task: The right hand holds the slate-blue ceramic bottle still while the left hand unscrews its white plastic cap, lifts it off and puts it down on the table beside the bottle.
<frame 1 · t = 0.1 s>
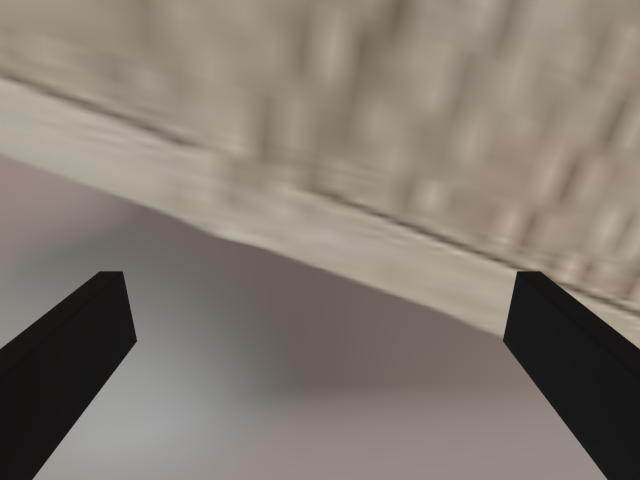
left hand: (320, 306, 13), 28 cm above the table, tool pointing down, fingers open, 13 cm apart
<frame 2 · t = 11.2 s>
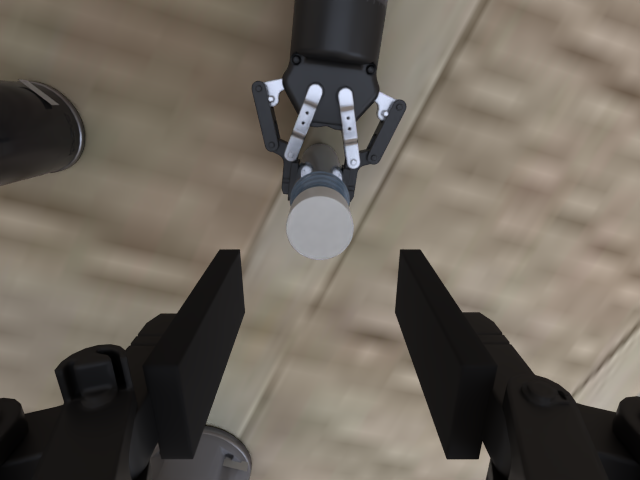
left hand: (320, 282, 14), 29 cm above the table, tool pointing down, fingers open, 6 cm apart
right hand: (316, 201, 36), fingers closed on bottle, 4 cm apart
cap: (319, 227, 21), point 23 cm above the table, screwed on, not yet turned
bottle: (319, 162, 42), on the table, touching right hand
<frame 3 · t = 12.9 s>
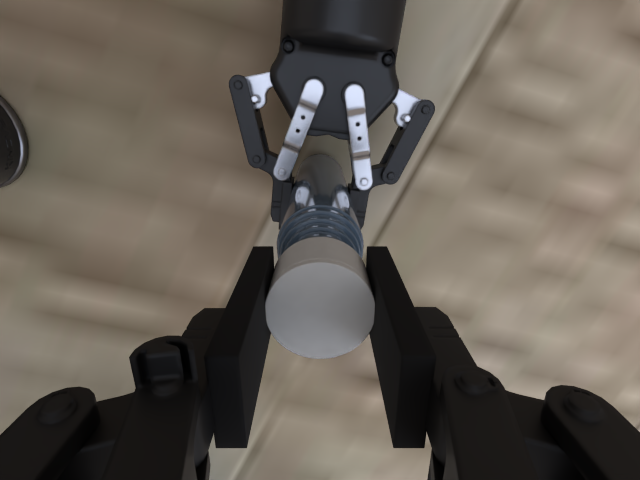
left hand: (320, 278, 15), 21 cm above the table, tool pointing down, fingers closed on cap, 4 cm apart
right hand: (316, 229, 28), fingers closed on bottle, 4 cm apart
cap: (320, 308, 13), point 23 cm above the table, screwed on, not yet turned, touching left hand
bottle: (320, 176, 34), on the table, touching right hand
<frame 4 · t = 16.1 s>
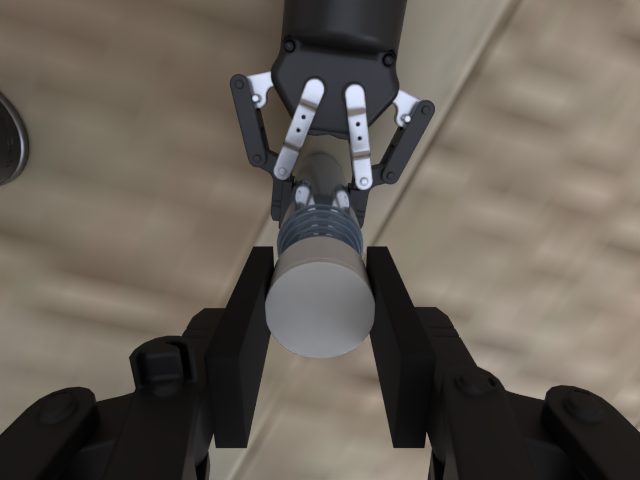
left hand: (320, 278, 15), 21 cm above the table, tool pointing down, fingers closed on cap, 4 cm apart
right hand: (316, 229, 29), fingers closed on bottle, 4 cm apart
cap: (320, 308, 13), point 23 cm above the table, turned 92° so far, risen 0.1 cm, still on its thread, touching left hand
bottle: (320, 176, 34), on the table, touching right hand
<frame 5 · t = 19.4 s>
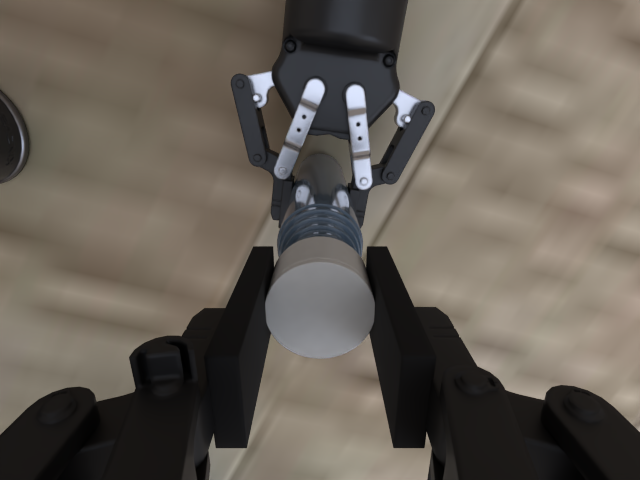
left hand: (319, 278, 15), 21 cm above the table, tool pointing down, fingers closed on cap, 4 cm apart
right hand: (315, 228, 29), fingers closed on bottle, 4 cm apart
cap: (320, 308, 13), point 23 cm above the table, turned 183° so far, risen 0.2 cm, still on its thread, touching left hand
bottle: (320, 176, 34), on the table, touching right hand
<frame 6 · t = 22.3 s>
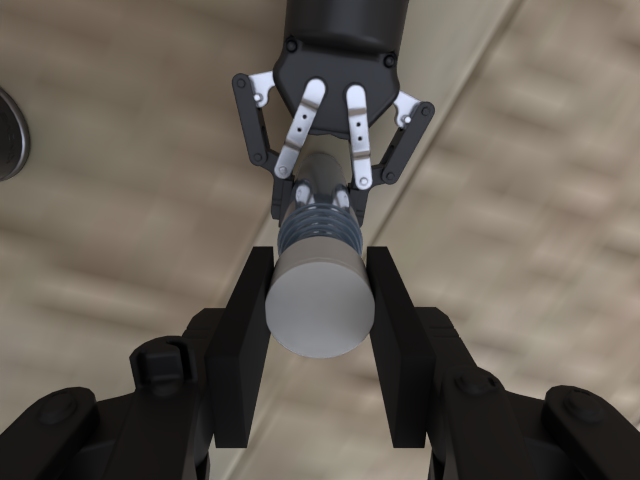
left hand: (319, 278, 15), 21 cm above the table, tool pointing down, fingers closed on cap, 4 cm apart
right hand: (315, 228, 29), fingers closed on bottle, 4 cm apart
cap: (320, 308, 13), point 23 cm above the table, turned 275° so far, risen 0.3 cm, still on its thread, touching left hand
bottle: (320, 176, 34), on the table, touching right hand
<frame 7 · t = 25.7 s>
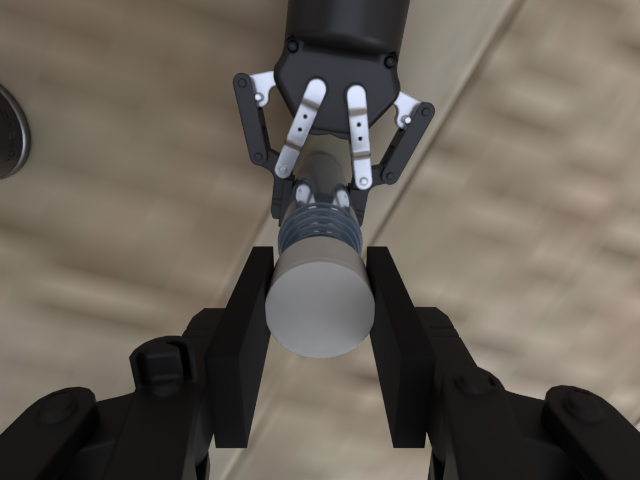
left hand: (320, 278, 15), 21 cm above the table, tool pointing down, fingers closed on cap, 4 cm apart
right hand: (315, 227, 29), fingers closed on bottle, 4 cm apart
cap: (320, 308, 13), point 23 cm above the table, turned 366° so far, risen 0.4 cm, still on its thread, touching left hand
bottle: (320, 175, 34), on the table, touching right hand
when the left hand's fingers open (2 cm above the table, at t = 33.0 s): cap drops 2 cm, point 2 cm above the table.
when the right hand's fingers open (7 cm above the table, at t = 34.3 s): bottle stays where it is, on the table.
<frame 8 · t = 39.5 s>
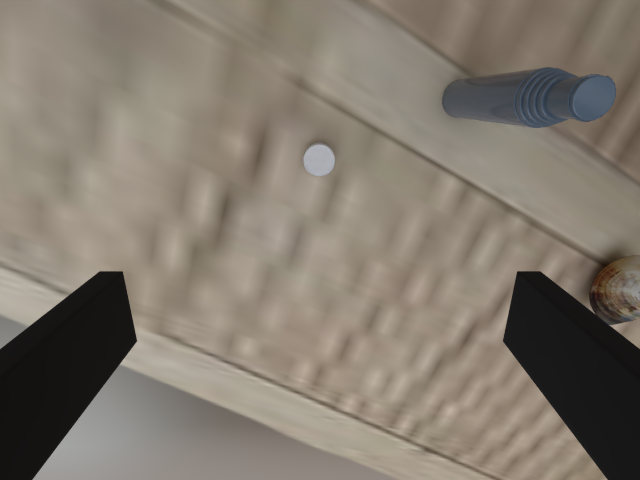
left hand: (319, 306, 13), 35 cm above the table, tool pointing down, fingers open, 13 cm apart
cap: (319, 160, 44), point 2 cm above the table, off its thread
bottle: (460, 98, 43), on the table
seashell: (601, 276, 51), on the table
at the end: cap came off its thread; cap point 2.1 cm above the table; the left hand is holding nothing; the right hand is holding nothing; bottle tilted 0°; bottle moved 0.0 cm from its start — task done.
